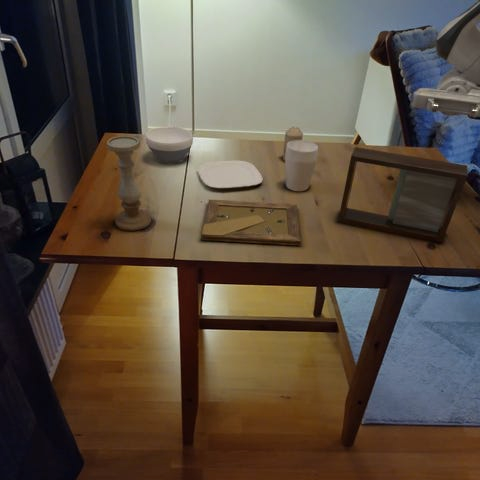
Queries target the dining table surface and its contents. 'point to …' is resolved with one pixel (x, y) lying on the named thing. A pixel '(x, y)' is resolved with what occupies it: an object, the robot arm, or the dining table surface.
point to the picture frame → (251, 222)
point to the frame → (410, 195)
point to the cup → (300, 164)
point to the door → (397, 193)
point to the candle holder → (128, 185)
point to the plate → (229, 174)
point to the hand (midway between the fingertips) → (453, 111)
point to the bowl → (169, 143)
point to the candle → (291, 137)
